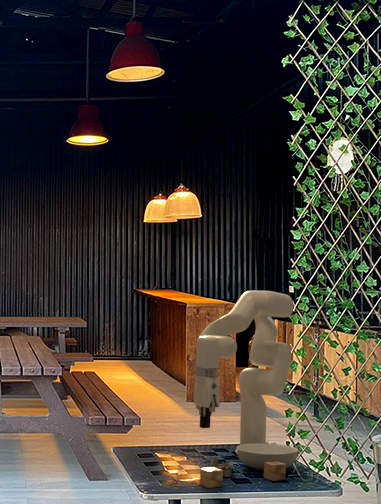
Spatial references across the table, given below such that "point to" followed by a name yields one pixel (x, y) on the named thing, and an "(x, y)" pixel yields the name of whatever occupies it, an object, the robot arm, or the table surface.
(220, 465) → the tan cratered rock
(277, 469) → the maple block
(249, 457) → the serving bowl
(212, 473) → the maple block
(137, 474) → the table surface
